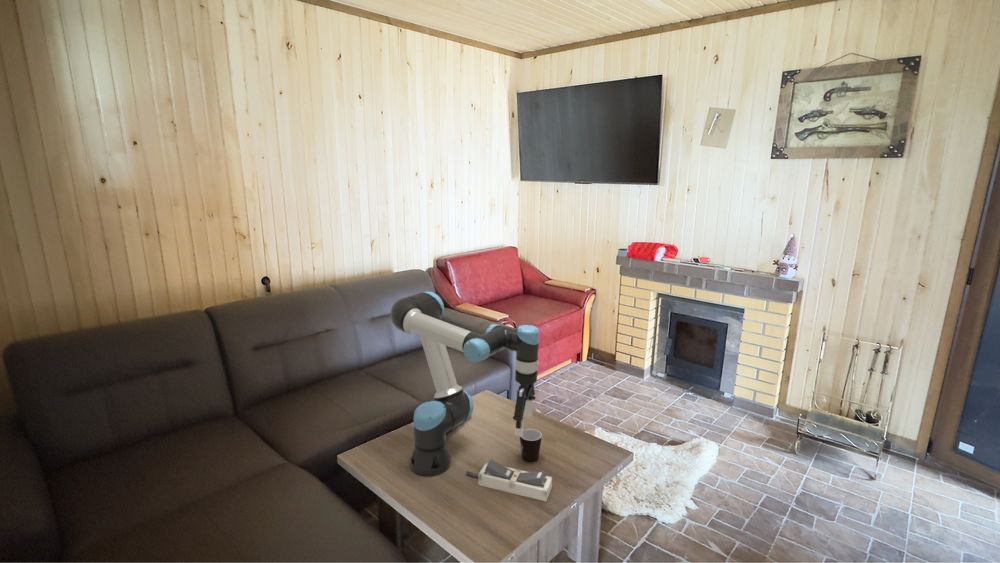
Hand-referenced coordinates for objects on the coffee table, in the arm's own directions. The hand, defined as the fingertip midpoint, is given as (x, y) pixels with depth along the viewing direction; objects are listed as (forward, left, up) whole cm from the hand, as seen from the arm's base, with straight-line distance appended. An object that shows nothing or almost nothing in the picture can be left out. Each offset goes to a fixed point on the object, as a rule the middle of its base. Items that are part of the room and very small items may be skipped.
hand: (523, 425), depth 167 cm
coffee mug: (-1, +14, -21) cm, 26 cm away
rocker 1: (-7, -6, -16) cm, 19 cm away
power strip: (-4, -6, -21) cm, 22 cm away
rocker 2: (+5, -6, -16) cm, 18 cm away
